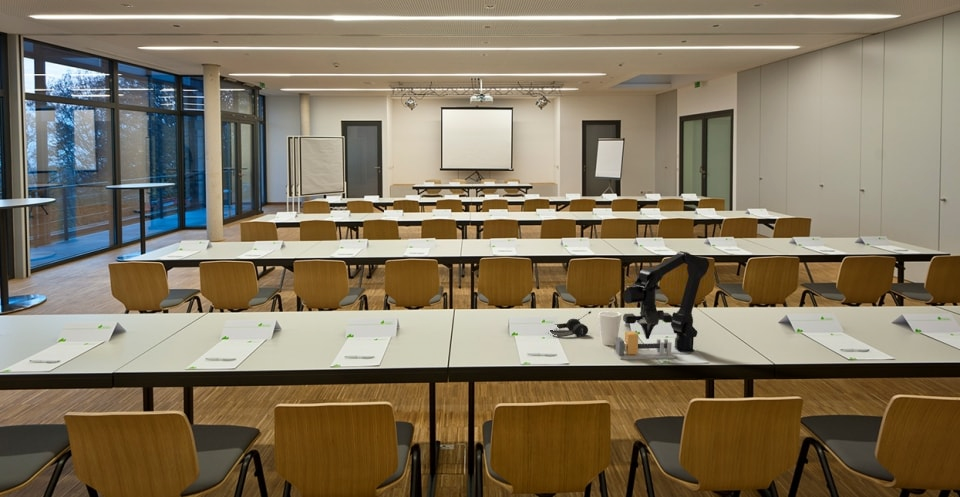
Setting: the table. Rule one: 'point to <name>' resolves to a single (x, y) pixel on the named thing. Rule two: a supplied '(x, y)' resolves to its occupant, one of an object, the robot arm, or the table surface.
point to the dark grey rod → (646, 346)
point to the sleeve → (631, 342)
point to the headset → (571, 328)
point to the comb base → (644, 351)
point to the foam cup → (609, 326)
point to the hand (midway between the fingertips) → (647, 338)
